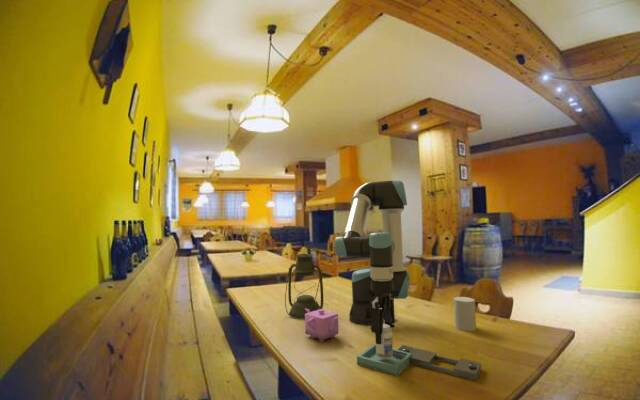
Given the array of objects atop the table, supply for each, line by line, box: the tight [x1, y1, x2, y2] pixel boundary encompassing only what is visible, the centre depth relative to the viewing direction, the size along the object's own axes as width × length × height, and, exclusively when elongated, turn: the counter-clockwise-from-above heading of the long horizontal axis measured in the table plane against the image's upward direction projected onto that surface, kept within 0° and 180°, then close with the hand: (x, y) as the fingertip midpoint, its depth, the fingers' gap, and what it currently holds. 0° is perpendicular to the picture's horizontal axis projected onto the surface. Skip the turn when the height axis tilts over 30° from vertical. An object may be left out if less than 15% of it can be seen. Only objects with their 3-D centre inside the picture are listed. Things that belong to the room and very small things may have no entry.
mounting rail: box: [393, 344, 482, 382], centre depth 103 cm, size 26×8×3 cm, turn 53°
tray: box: [356, 343, 412, 377], centre depth 105 cm, size 14×12×2 cm
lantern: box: [284, 253, 324, 320], centre depth 162 cm, size 21×18×30 cm
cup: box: [453, 296, 477, 332], centre depth 136 cm, size 8×8×12 cm
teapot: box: [304, 308, 340, 343], centre depth 129 cm, size 15×13×11 cm
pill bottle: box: [376, 323, 394, 359], centre depth 105 cm, size 5×5×10 cm
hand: (384, 350), depth 105 cm, fingers closed on pill bottle, 5 cm apart
